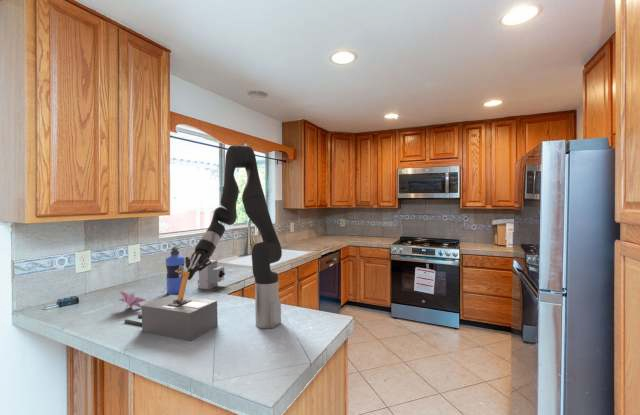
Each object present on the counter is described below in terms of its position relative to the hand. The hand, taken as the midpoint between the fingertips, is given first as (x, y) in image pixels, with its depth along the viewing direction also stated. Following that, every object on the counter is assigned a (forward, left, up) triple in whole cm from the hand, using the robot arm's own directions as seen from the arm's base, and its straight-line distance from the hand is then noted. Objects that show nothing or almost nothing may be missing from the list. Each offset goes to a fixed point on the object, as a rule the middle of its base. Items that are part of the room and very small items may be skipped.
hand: (187, 278), depth 120 cm
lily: (+37, -3, -19) cm, 42 cm away
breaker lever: (0, +4, -8) cm, 9 cm away
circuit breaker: (+28, -46, -19) cm, 57 cm away
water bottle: (+40, -31, -19) cm, 54 cm away
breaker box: (+7, +4, -19) cm, 20 cm away
